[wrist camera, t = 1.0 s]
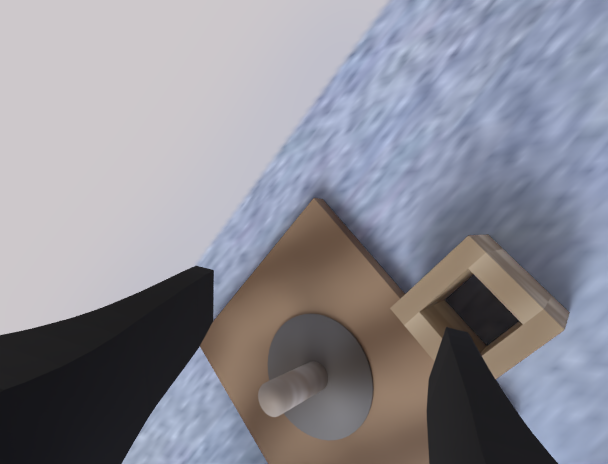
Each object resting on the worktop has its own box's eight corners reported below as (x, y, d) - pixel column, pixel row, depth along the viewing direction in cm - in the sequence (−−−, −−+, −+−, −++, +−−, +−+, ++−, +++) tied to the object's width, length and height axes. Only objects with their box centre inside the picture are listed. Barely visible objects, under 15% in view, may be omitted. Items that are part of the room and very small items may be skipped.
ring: (569, 312, 19) (564, 329, 16) (486, 373, 21) (466, 399, 18) (488, 234, 21) (468, 235, 18) (418, 297, 23) (389, 308, 20)
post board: (516, 422, 20) (494, 477, 16) (329, 543, 27) (274, 608, 22) (322, 199, 27) (267, 192, 22) (206, 338, 33) (145, 355, 28)
